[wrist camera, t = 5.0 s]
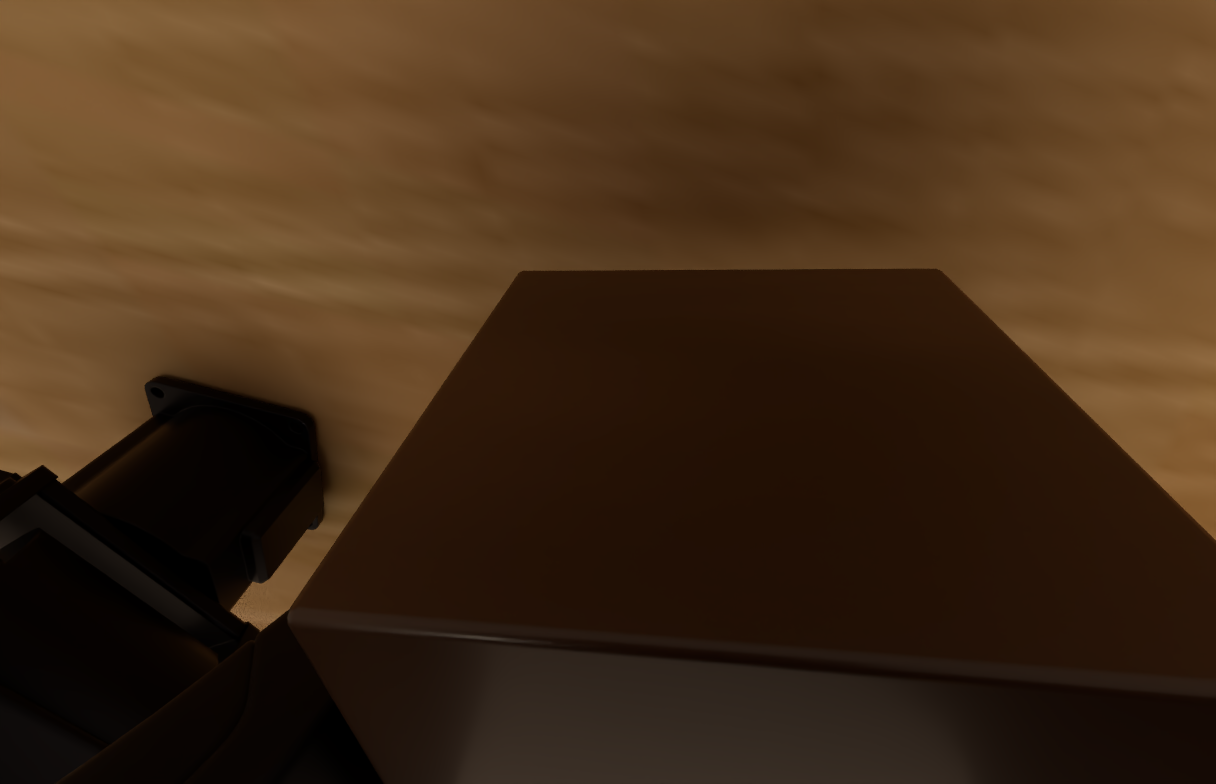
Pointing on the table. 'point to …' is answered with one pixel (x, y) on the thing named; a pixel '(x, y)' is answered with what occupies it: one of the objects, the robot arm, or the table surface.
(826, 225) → the table surface
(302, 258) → the table surface
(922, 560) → the block
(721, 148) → the table surface
